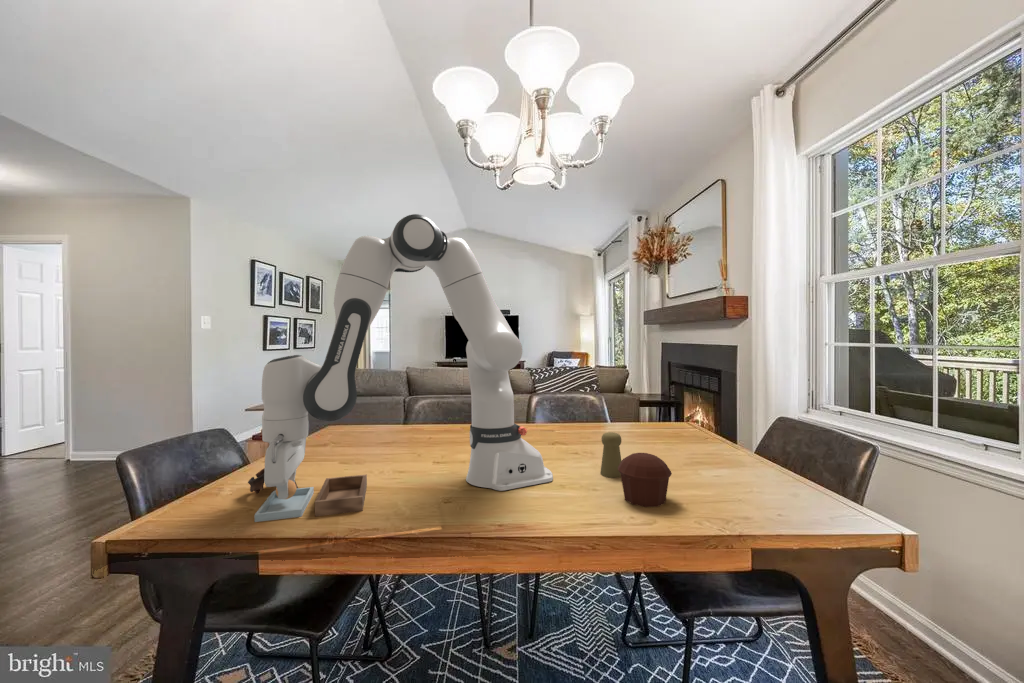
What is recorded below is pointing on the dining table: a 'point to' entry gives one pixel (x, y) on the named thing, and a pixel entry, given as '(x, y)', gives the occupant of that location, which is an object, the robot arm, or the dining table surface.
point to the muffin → (644, 479)
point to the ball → (290, 489)
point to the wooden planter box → (341, 495)
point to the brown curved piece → (258, 482)
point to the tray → (284, 505)
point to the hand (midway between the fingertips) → (286, 493)
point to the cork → (611, 455)
